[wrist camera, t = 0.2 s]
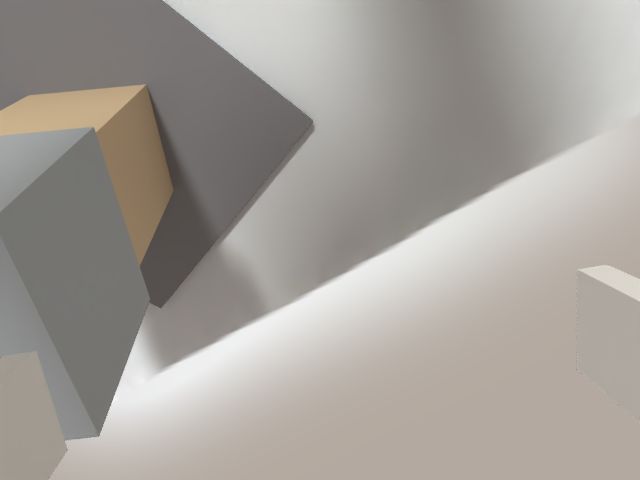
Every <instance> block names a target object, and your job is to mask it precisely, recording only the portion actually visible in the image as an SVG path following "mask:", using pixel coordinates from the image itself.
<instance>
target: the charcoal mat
mask: <svg viewBox="0 0 640 480" xmlns="http://www.w3.org/2000/svg"><path fill="white" fill-rule="evenodd" d="M145 84H147V88H148V92H149V96H150V100H151V104H152V108H153V112H154V116H155V119H156V123H157V127H158V131H159V135H160V139H161V143H162V147H163V151H164V154H165V158H166V162H167V166H168V170H169V174H170V178H171V182H172V186H173V190H174V191H173V193H172V195H171V197H170V200H169V202H168V204H167V206H166V209H165V211H164V213H163V215H162V217H161V220H160V222H159V224H158V226H157V229H156V231H155V233H154V235H153V238H152V240H151V242H150V244H149V246H148V249H147V251H146V253H145V255H144V258H143V260H142V262H141V264H140V269H141V272H142V275H143V278H144V281H145V285H146V288H147V291H148V294H149V297H150V301H149V302H150V303H152V304H154V305H156V306H158V307H160V308H161V307H162V306H163V305H164V304H165V303H166V301H167V300H168V299H169V298H170V296H171V295H172V294H173V293H174V292H175V290H176V289H177V288H178V287H179V285H180V284H181V283H182V282H183V280H184V279H185V278H186V277H187V276H188V274H189V273H190V272H191V271H192V269H193V268H194V267H195V266H196V265H197V263H198V262H199V261H200V260H201V258H202V257H203V256H204V255H205V254H206V252H207V251H208V250H209V249H210V247H211V246H212V245H213V244H214V243H215V241H216V240H217V239H218V238H219V236H220V235H221V234H222V233H223V232H224V230H225V229H226V228H227V227H228V225H229V224H230V223H231V222H232V221H233V219H234V218H235V217H236V216H237V214H238V213H239V212H240V211H241V210H242V208H243V207H244V206H245V205H246V203H247V202H248V201H249V200H250V198H251V197H252V196H253V195H254V194H255V192H256V191H257V190H258V189H259V187H260V186H261V185H262V184H263V183H264V181H265V180H266V179H267V178H268V176H269V175H270V174H271V173H272V172H273V170H274V169H275V168H276V167H277V165H278V164H279V163H280V162H281V161H282V159H283V158H284V157H285V156H286V154H287V153H288V152H289V151H290V150H291V148H292V147H293V146H294V145H295V143H296V142H297V141H298V140H299V139H300V137H301V136H302V135H303V134H304V132H305V131H306V130H307V129H308V128H309V126H310V125H311V124H312V123H313V121H312V119H311V118H309V117H308V116H307V115H306V114H304V113H303V112H302V111H301V110H299V109H298V108H297V107H296V106H294V105H293V104H292V103H291V102H289V101H288V100H287V99H286V98H284V97H283V96H282V95H281V94H279V93H278V92H277V91H275V90H274V89H273V88H272V87H270V86H269V85H268V84H267V83H265V82H264V81H263V80H262V79H260V78H259V77H258V76H257V75H255V74H254V73H253V72H252V71H250V70H249V69H248V68H247V67H245V66H244V65H243V64H242V63H240V62H239V61H238V60H237V59H235V58H234V57H233V56H232V55H230V54H229V53H228V52H227V51H225V50H224V49H223V48H222V47H220V46H219V45H218V44H216V43H215V42H214V41H213V40H211V39H210V38H209V37H208V36H206V35H205V34H204V33H203V32H201V31H200V30H199V29H198V28H196V27H195V26H194V25H193V24H191V23H190V22H189V21H188V20H186V19H185V18H184V17H183V16H181V15H180V14H179V13H178V12H176V11H175V10H174V9H173V8H171V7H170V6H169V5H168V4H166V3H165V2H164V1H162V0H0V111H1V110H3V109H5V108H6V107H8V106H10V105H12V104H14V103H16V102H17V101H19V100H21V99H23V98H25V97H26V96H28V95H38V94H49V93H59V92H70V91H81V90H91V89H102V88H113V87H124V86H134V85H145Z"/></svg>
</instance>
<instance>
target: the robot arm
mask: <svg viewBox="0 0 640 480" xmlns="http://www.w3.org/2000/svg"><path fill="white" fill-rule="evenodd" d="M576 366H577V367H576V369H577V370H578V371H579V372H580V373H581V374H582V375H584V376H585V377H586V378H587V379H588V380H590V381H591V382H592V383H593V384H594V385H595V386H596V387H598V388H599V389H600V390H601V391H602V392H603V393H605V394H606V395H607V396H608V397H609V398H610V399H612V400H613V401H614V402H615V403H617V405H619V406H620V407H621V408H622V409H623V410H625V411H626V412H627V413H628V414H629V415H630V416H632V417H633V418H634V419H635V420H636V421H637V422H639V423H640V279H638V278H635V277H633V276H631V275H629V274H626V273H624V272H622V271H620V270H618V269H616V268H613V267H611V266H609V265H603V266H597V267H591V268H583V269H578V270H577V364H576ZM66 452H67V447H66V444H65V440H64V437H63V434H62V431H61V428H60V424H59V421H58V418H57V415H56V412H55V408H54V405H53V402H52V399H51V396H50V393H49V389H48V386H47V383H46V380H45V377H44V374H43V370H42V367H41V364H40V361H39V358H38V354H37V351H34V352H27V353H20V354H14V355H7V356H3V357H2V358H1V359H0V480H48V479H49V478H50V476H51V475H52V473H53V472H54V470H55V468H56V467H57V466H58V464H59V463H60V461H61V459H62V458H63V456H64V455H65V453H66Z"/></svg>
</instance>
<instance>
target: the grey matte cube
mask: <svg viewBox="0 0 640 480" xmlns="http://www.w3.org/2000/svg"><path fill="white" fill-rule="evenodd" d="M149 301H150V297H149V294H148V291H147V288H146V285H145V281H144V278H143V275H142V272H141V269H140V266H139V263H138V260H137V257H136V254H135V251H134V248H133V245H132V242H131V239H130V236H129V233H128V230H127V227H126V224H125V220H124V217H123V214H122V211H121V208H120V205H119V202H118V199H117V196H116V193H115V190H114V187H113V184H112V181H111V178H110V175H109V172H108V169H107V166H106V162H105V159H104V156H103V153H102V150H101V147H100V144H99V141H98V138H97V135H96V132H95V129H94V127H86V128H75V129H65V130H54V131H44V132H33V133H23V134H12V135H2V136H0V359H1V358H2V357H3V356H7V355H14V354H20V353H27V352H34V351H37V354H38V358H39V361H40V364H41V367H42V370H43V374H44V377H45V380H46V383H47V386H48V389H49V393H50V396H51V399H52V402H53V405H54V408H55V412H56V415H57V418H58V421H59V424H60V428H61V431H62V434H63V437H64V440H71V439H81V438H90V437H98V436H99V435H100V432H101V430H102V427H103V424H104V421H105V419H106V416H107V414H108V411H109V408H110V406H111V403H112V400H113V397H114V395H115V392H116V389H117V387H118V384H119V381H120V379H121V376H122V373H123V371H124V368H125V365H126V363H127V360H128V357H129V355H130V352H131V349H132V347H133V344H134V341H135V339H136V336H137V333H138V331H139V328H140V325H141V323H142V320H143V317H144V314H145V312H146V309H147V306H148V304H149Z"/></svg>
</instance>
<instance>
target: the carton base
mask: <svg viewBox="0 0 640 480" xmlns="http://www.w3.org/2000/svg"><path fill="white" fill-rule="evenodd" d="M86 127H94V129H95V132H96V135H97V138H98V141H99V144H100V147H101V150H102V153H103V156H104V159H105V162H106V166H107V169H108V172H109V175H110V178H111V181H112V184H113V187H114V190H115V193H116V196H117V199H118V202H119V205H120V208H121V211H122V214H123V217H124V220H125V224H126V227H127V230H128V233H129V236H130V239H131V242H132V245H133V248H134V251H135V254H136V257H137V260H138V263H139V266H140V264H141V262H142V260H143V258H144V255H145V253H146V251H147V249H148V246H149V244H150V242H151V240H152V238H153V235H154V233H155V231H156V229H157V226H158V224H159V222H160V220H161V217H162V215H163V213H164V211H165V209H166V206H167V204H168V202H169V200H170V197H171V195H172V193H173V191H174V190H173V186H172V182H171V178H170V174H169V170H168V166H167V162H166V158H165V154H164V151H163V147H162V143H161V139H160V135H159V131H158V127H157V123H156V119H155V116H154V112H153V108H152V104H151V100H150V96H149V92H148V88H147V84H145V85H134V86H124V87H113V88H102V89H91V90H81V91H70V92H59V93H49V94H38V95H28V96H26V97H25V98H23V99H21V100H19V101H17V102H16V103H14V104H12V105H10V106H8V107H6V108H5V109H3V110H1V111H0V136H2V135H12V134H23V133H33V132H44V131H54V130H65V129H75V128H86Z"/></svg>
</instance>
